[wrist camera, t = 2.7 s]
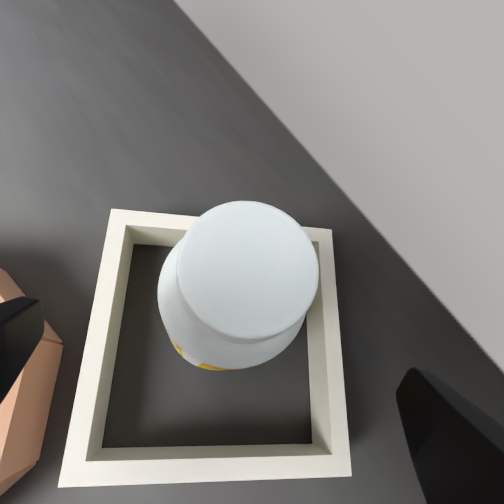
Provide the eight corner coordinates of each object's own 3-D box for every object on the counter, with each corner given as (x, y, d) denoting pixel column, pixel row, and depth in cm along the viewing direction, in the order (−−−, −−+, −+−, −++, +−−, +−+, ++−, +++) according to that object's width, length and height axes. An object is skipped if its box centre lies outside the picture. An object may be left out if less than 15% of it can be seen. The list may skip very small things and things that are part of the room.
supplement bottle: (146, 333, 17) (99, 285, 8) (206, 254, 19) (222, 147, 10) (232, 392, 16) (284, 413, 8) (283, 306, 19) (370, 243, 10)
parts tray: (328, 462, 16) (351, 476, 14) (78, 469, 14) (57, 487, 12) (315, 245, 20) (331, 229, 18) (120, 229, 18) (111, 208, 16)
